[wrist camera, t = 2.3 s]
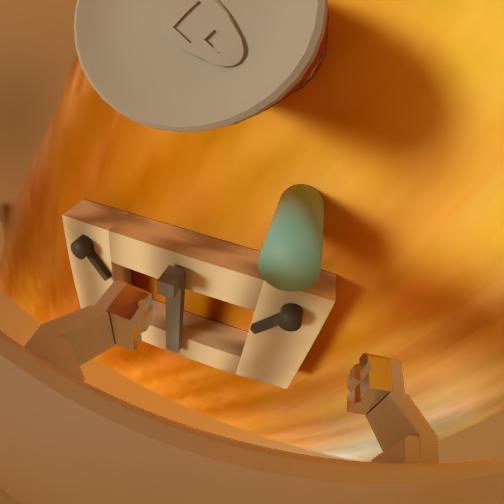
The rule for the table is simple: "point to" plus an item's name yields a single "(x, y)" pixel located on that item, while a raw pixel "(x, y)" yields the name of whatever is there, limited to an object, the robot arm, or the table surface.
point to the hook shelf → (198, 291)
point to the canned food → (198, 57)
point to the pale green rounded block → (294, 240)
